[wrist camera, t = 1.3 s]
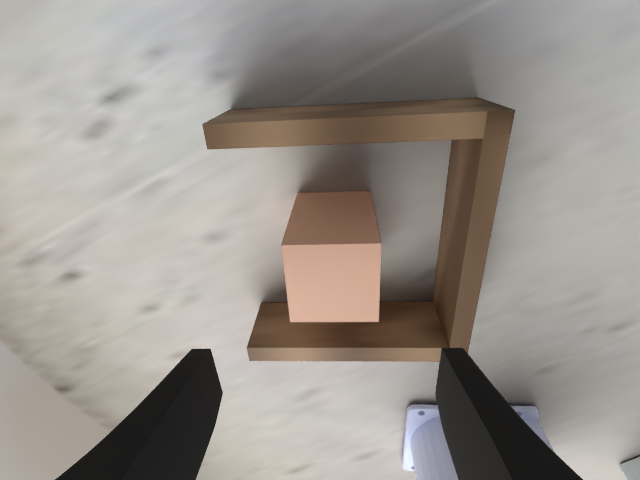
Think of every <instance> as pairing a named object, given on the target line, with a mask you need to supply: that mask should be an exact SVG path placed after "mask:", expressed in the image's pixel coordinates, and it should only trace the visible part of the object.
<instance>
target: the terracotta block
mask: <svg viewBox="0 0 640 480" xmlns="http://www.w3.org/2000/svg"><path fill="white" fill-rule="evenodd" d="M281 248H282V257H283V265H284V274H285V282H286V291H287V299H288V308H289V316H290V322H379V300H380V270H381V239H380V234H379V229H378V224H377V220H376V215H375V210H374V205H373V200H372V195H371V191H345V192H311V193H297V196H296V199H295V203H294V206H293V209H292V212H291V215H290V219H289V222H288V225H287V228H286V232H285V235H284V238H283V241H282V244H281Z"/></svg>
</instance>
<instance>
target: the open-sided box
mask: <svg viewBox="0 0 640 480" xmlns="http://www.w3.org/2000/svg"><path fill="white" fill-rule="evenodd" d="M514 113H515V110H513V109H510V108H507V107H504V106H501V105H498V104H495V103H493V102H490V101H487V100H484V99H481V98H462V99H441V100H420V101H399V102H378V103H357V104H336V105H315V106H294V107H273V108H252V109H231V110H228V111H226V112H225V113H223V114H221V115H219V116H217V117H215V118H213V119H211V120H209V121H208V122H206V123H204V124H202V125H203V130H204V135H205V140H206V145H207V149H230V148H255V147H280V146H306V145H331V144H356V143H381V142H407V141H432V140H452V144H451V152H450V161H449V169H448V177H447V185H446V194H445V202H444V210H443V219H442V227H441V235H440V244H439V252H438V260H437V268H436V277H435V285H434V293H433V301H415V302H379V322H290V316H289V308H288V303H261V305H260V308H259V311H258V314H257V318H256V321H255V324H254V327H253V330H252V333H251V336H250V340H249V343H248V346H247V351H248V356H249V361H440V356H441V349H442V348H463V349H464V350H465V351H466V352H467V353H468V349H469V344H470V339H471V334H472V329H473V324H474V318H475V313H476V308H477V303H478V298H479V293H480V288H481V282H482V277H483V272H484V267H485V262H486V257H487V252H488V246H489V241H490V236H491V231H492V226H493V221H494V216H495V211H496V205H497V200H498V195H499V190H500V185H501V180H502V175H503V169H504V164H505V159H506V154H507V149H508V144H509V139H510V134H511V128H512V123H513V118H514Z"/></svg>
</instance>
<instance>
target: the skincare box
mask: <svg viewBox="0 0 640 480" xmlns="http://www.w3.org/2000/svg"><path fill="white" fill-rule="evenodd" d="M620 468H621V470H622V471H623V473H624V474H625V476H626V477H627V479H628V480H640V457H637V458H635V459H632V460H630V461H627V462H624V463H622V464H620Z"/></svg>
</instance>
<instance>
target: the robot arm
mask: <svg viewBox="0 0 640 480" xmlns="http://www.w3.org/2000/svg"><path fill="white" fill-rule="evenodd" d="M222 393H223V392H222V389H221V385H220V382H219V378H218V374H217V371H216V367H215V363H214V360H213V356H212V352H211V349H192V350H191V351H190V352H189V353H188V354H187V355H186V356H185V357H184V358H183V359H182V360H181V361H180V362H179V363H178V364H177V365H176V366H175V367H174V369H173V370H172V371H171V372H170V373H169V374H168V375H167V376H166V377H165V378H164V379H163V380H162V381H161V382H160V383H159V385H158V386H157V387H156V388H155V389H154V390H153V391H152V392H151V393H150V394H149V395H148V396H147V397H146V398H145V399H144V400H143V401H142V402H141V403H140V404H139V405H138V406H137V407H136V408H135V409H134V410H133V411H132V412H131V413H130V414H129V415H128V416H127V417H126V418H125V419H124V420H123V421H122V422H121V423H120V424H119V425H118V426H117V427H116V428H115V429H113V430H112V431H111V432H110V433H109V434H108V435H107V436H106V437H105V438H104V439H103V440H102V441H101V442H100V443H98V444H97V445H96V446H95V447H94V448H93V449H92V450H91V451H89V452H88V453H87V454H86V455H85V456H84V457H82V458H81V459H80V460H79V461H78V462H77V463H75V464H74V465H73V466H72V467H70V468H69V469H68V470H67V471H66V472H64V473H63V474H62V475H61V476H59V477H58V478H57V479H55V480H196V477H197V474H198V472H199V469H200V466H201V463H202V461H203V458H204V455H205V452H206V450H207V447H208V444H209V441H210V438H211V436H212V433H213V430H214V427H215V423H216V419H217V415H218V411H219V407H220V402H221V398H222ZM435 394H436V400H437V405H410V406H409V407H408V408H407V416H406V426H405V437H404V447H403V458H402V467H403V469H404V470H407V471H415V476H416V480H583V479H582V478H581V477H580V476H578V475H577V474H576V473H575V472H574V471H573V470H572V469H571V468H570V467H569V466H568V465H567V464H566V463H565V462H564V461H563V460H562V459H561V458H560V457H558V456H557V455H556V454H555V452H554V451H553V449H552V447H551V445H550V443H549V441H548V439H547V437H546V436H545V434H544V432H543V430H542V428H541V426H540V424H539V422H538V420H537V419H538V416H539V411H538V409H537V408H536V407H534V406H510V404H509V403H508V402H507V401H506V400H505V399H504V398H503V397H502V395H501V394H500V393H499V392H498V391H497V389H496V388H495V387H494V386H493V385H492V383H491V382H490V381H489V380H488V379H487V377H486V376H485V375H484V374H483V372H482V371H481V370H480V369H479V367H478V366H477V365H476V364H475V362H474V361H473V360H472V358H471V357H470V356H469V355H468V353H467V352H466V351H465V350H464V349H463V348H442V349H441V356H440V364H439V371H438V378H437V386H436V393H435Z"/></svg>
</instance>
